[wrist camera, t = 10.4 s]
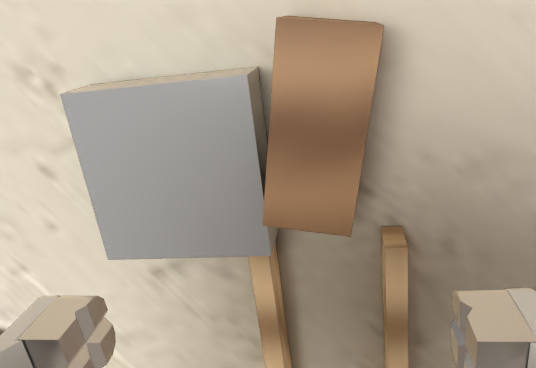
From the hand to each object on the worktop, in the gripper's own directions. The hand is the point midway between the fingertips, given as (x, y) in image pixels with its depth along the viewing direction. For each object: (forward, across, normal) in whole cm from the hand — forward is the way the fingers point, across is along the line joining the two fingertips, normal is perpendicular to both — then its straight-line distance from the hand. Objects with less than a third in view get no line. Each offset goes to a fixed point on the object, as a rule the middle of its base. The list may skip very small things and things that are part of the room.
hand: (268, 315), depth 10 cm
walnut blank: (+16, -1, -1) cm, 16 cm away
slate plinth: (+16, +7, +1) cm, 17 cm away
